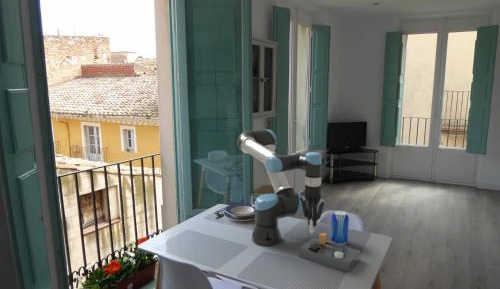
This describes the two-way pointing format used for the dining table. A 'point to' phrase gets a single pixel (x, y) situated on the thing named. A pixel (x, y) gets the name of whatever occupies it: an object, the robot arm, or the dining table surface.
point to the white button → (338, 254)
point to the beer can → (339, 227)
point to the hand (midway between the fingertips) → (312, 232)
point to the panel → (330, 255)
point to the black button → (314, 246)
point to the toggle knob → (322, 238)
